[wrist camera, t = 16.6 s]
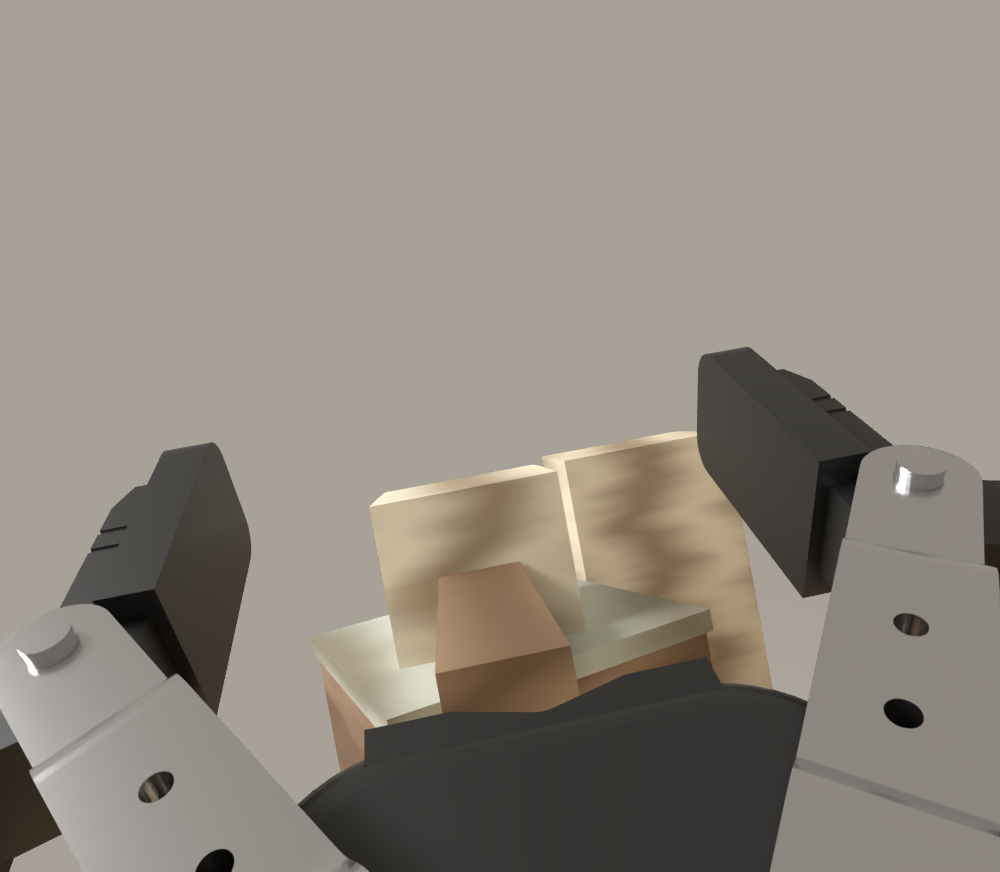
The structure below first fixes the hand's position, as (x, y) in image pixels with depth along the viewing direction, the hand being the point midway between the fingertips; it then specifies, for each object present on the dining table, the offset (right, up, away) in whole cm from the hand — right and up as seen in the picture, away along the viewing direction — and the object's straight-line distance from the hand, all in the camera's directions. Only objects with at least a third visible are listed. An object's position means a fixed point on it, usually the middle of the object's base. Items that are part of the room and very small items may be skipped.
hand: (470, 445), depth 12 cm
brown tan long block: (0, -8, +13) cm, 15 cm away
